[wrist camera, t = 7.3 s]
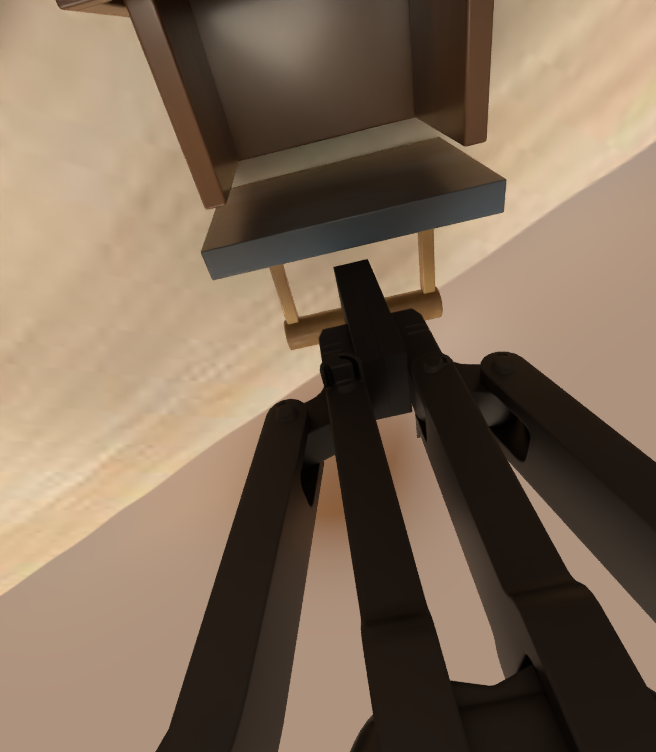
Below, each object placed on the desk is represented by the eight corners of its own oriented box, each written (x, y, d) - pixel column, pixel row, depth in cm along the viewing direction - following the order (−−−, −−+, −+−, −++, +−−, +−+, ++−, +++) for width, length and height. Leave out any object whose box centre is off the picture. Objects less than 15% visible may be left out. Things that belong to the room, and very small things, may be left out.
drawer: (441, 267, 25) (493, 339, 19) (263, 307, 26) (259, 390, 20) (433, -315, 12) (578, -639, 6) (80, -207, 13) (-84, -411, 7)
